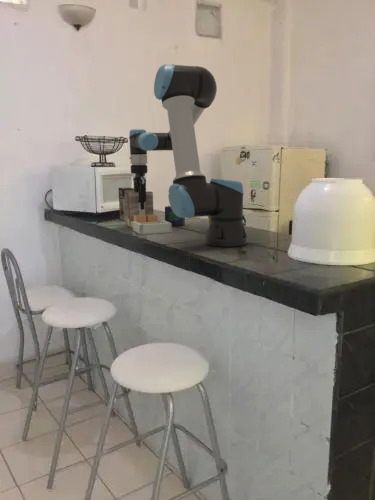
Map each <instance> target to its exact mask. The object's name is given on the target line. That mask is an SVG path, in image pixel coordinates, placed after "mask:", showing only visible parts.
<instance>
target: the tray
mask: <svg viewBox="0 0 375 500" xmlns="http://www.w3.org/2000/svg"><path fill="white" fill-rule="evenodd" d="M159 222H160V224H145V225H142V224H140V223H138V222H136V221H134V222H133V228H132V231H133V232H135V233H136V234H138V235H139V236H145V235H156V234H172V231H173V230H172V227H173V226H172V223H170V222H167V221H165V219H160V220H159Z"/></svg>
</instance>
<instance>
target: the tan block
mask: <svg viewBox="0 0 375 500" xmlns="http://www.w3.org/2000/svg"><path fill="white" fill-rule="evenodd" d="M138 201H139V193H138V192H127V204H128V219H130V220H132V219H134V217H133V215H139V203H138ZM145 214H154V192H153V191H146V201H145Z"/></svg>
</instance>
